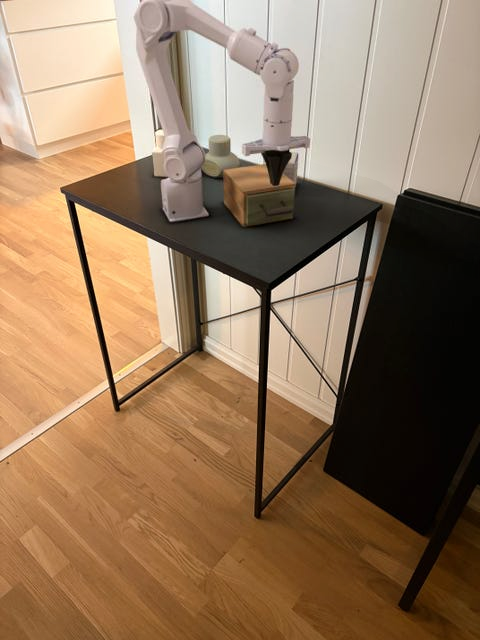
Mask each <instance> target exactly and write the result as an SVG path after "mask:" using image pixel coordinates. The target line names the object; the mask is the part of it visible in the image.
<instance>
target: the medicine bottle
mask: <svg viewBox="0 0 480 640" xmlns="http://www.w3.org/2000/svg"><path fill="white" fill-rule="evenodd" d="M154 137H155V138H154V139H155V145H156V146H155V147H154V148H153V150H152V151H151V156H152V157H151V158H152V168H153V175H154V177H156V178H157V177H159V178H169V177H168V176H167V174H166V172H165V170H164V156H163V153H162V148H163V144H164V141H165V136H164V133H163V130H162V127H159V128H157V129H155V131H154Z"/></svg>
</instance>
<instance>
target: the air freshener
mask: <svg viewBox="0 0 480 640" xmlns="http://www.w3.org/2000/svg"><path fill="white" fill-rule="evenodd" d="M231 144H232V143H231V137H230V136H229V135H225V134H213V135H211V136H209V138H208V152H206V153H205V162H204V164H203V166H202V167H201V171H203V172H204V173H205V174H206V175H208V176H210V177H212V178H214V179H221V178H223V170H226V169H233V168H240V167H241V161H240V159H239V157H238V156H237V155H236V154H235V153H233V152H232V149H231V146H232V145H231Z"/></svg>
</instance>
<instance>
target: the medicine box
mask: <svg viewBox="0 0 480 640" xmlns="http://www.w3.org/2000/svg"><path fill="white" fill-rule="evenodd" d="M290 152H291V153H292V157H291V159H290V161H289V162H288V164H287V166H286V167H285V170H284V172H283V174H285V175H286V176H287V177H288V178H289V179H290V180H292V181H293V182H294V183H295V188H296V187H297V183H298V169H299V152H297V151H290Z"/></svg>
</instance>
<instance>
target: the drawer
mask: <svg viewBox="0 0 480 640" xmlns="http://www.w3.org/2000/svg"><path fill="white" fill-rule="evenodd" d="M295 195H296V189H295V190H294V189H293V188H290V189H287V188H285V189H279V190H273V191H269V192H260V193H256V194H252V195H250V194H247V195H246V224H247V225H252V226H254V225H253V224H258V223H263V224H265V223H264V222H269V223H271V222H270V221H275V220H280V221H282V220H281V219H286V220H288V219H287V218H292V217H293V218H294V208H295ZM293 218H292V219H293ZM275 222H276V221H275ZM258 225H259V224H258Z"/></svg>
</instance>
